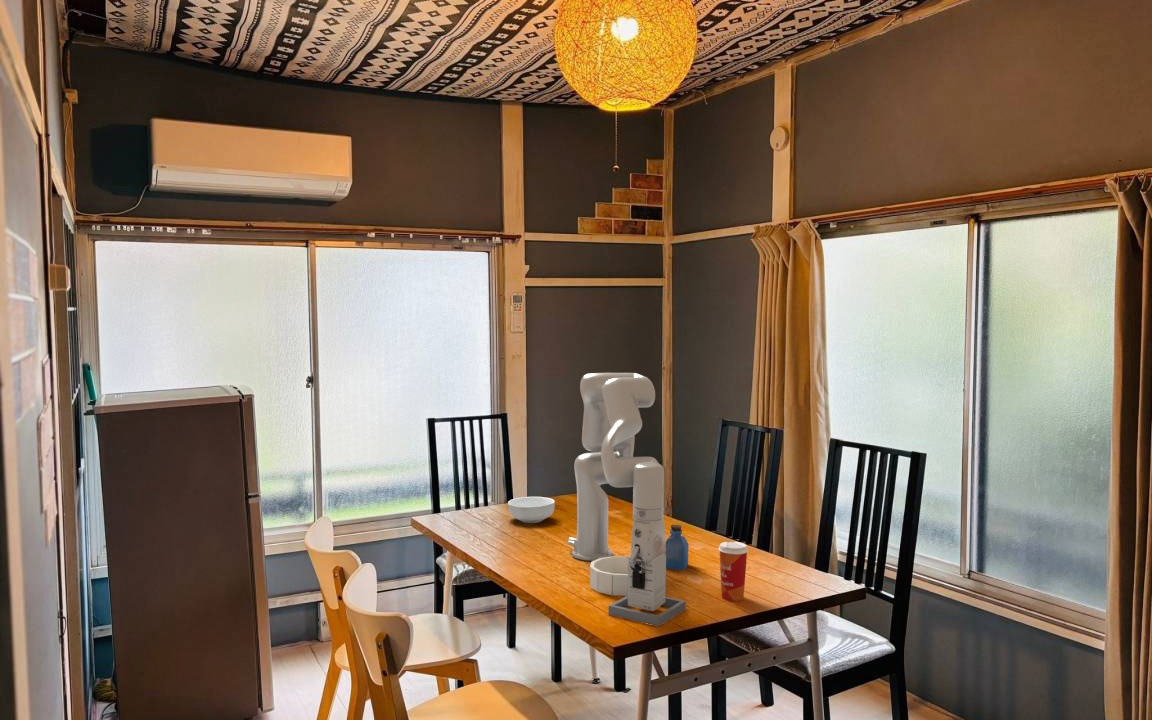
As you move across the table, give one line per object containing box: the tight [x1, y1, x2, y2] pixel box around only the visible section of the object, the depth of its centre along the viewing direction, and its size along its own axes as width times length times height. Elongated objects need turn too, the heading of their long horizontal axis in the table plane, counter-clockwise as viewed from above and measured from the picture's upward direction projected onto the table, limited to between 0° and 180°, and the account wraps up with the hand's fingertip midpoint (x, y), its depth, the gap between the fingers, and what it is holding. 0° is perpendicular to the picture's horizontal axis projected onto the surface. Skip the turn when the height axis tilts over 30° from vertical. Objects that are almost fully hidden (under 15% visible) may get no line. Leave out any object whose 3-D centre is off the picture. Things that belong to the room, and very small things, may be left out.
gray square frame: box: [608, 596, 687, 627], centre depth 205 cm, size 14×14×2 cm
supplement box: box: [628, 553, 667, 612], centre depth 205 cm, size 7×7×13 cm
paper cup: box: [718, 541, 749, 602], centre depth 216 cm, size 8×8×14 cm
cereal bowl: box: [507, 496, 556, 524], centre depth 297 cm, size 17×17×7 cm
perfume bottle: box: [665, 524, 689, 571], centre depth 243 cm, size 6×6×12 cm
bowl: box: [589, 555, 629, 597], centre depth 226 cm, size 17×17×6 cm
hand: (646, 582), depth 206 cm, fingers closed on supplement box, 7 cm apart
